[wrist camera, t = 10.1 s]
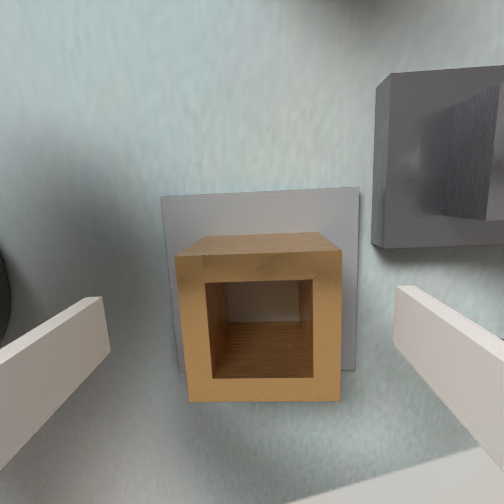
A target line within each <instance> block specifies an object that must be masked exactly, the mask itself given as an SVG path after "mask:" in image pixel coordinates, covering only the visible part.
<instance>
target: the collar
mask: <svg viewBox="0 0 504 504" xmlns="http://www.w3.org/2000/svg"><path fill="white" fill-rule="evenodd" d="M174 258H175V268H176V278H177V288H178V298H179V308H180V317H181V327H182V337H183V347H184V357H185V367H186V376H187V386H188V396H189V402H262V401H340V390H341V312H342V250H341V249H340V248H339V247H337V246H336V245H334V244H333V243H332V242H330V241H329V240H328V239H326V238H325V237H324V236H322V235H321V234H320V233H318V232H301V233H276V234H252V235H227V236H204V237H203V238H201V239H200V240H198V241H197V242H195V243H194V244H192V245H191V246H189V247H188V248H186V249H185V250H183V251H182V252H180V253H179V254H177V255H176V256H174ZM277 280H298V286H299V321H261V322H229V310H228V295H227V282H245V281H277Z"/></svg>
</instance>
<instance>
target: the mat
mask: <svg viewBox="0 0 504 504" xmlns="http://www.w3.org/2000/svg"><path fill="white" fill-rule="evenodd" d="M161 205H162V215H163V224H164V234H165V243H166V252H167V262H168V271H169V280H170V290H171V299H172V308H173V318H174V327H175V337H176V346H177V355H178V365H179V372H186V367H185V357H184V347H183V337H182V327H181V317H180V308H179V298H178V288H177V278H176V268H175V258H174V256H176V255H177V254H179V253H180V252H182V251H183V250H185V249H186V248H188V247H189V246H191V245H192V244H194V243H195V242H197V241H198V240H200V239H201V238H203V237H204V236H227V235H252V234H276V233H301V232H318V233H320V234H321V235H322V236H324V237H325V238H326V239H328V240H329V241H330V242H332V243H333V244H334V245H336V246H337V247H339V248H340V249H341V250H342V312H341V370H355V347H356V305H357V262H358V219H359V187H346V188H325V189H305V190H285V191H264V192H244V193H224V194H203V195H183V196H163V197H161ZM227 295H228V310H229V322H261V321H299V286H298V280H277V281H245V282H227Z"/></svg>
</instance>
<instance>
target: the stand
mask: <svg viewBox="0 0 504 504" xmlns="http://www.w3.org/2000/svg"><path fill="white" fill-rule="evenodd" d="M371 243H372V244H374V245H377V246H379V247H381V248H383V249H390V248H417V247H445V246H472V245H500V244H504V65H501V66H487V67H473V68H459V69H445V70H432V71H418V72H404V73H391V74H390V75H389V76H388V77H387V78H386V79H385V80H384V81H383V82H382V83H381V84H380V85H379V86H378V87H377V88H376V107H375V137H374V168H373V199H372V230H371Z"/></svg>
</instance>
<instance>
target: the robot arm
mask: <svg viewBox="0 0 504 504" xmlns="http://www.w3.org/2000/svg"><path fill="white" fill-rule="evenodd" d="M9 310H10V292H9V284H8V279H7V275H6V271H5V268H4V265H3V262H2V260H1V257H0V340H1V339H2V337H3V334H4V332H5V329H6V326H7V322H8V317H9ZM393 345H394V346H395V347H396V348H397V349H398V350H399V352H400V353H401V354H402V355H403V356H404V357H405V358H406V360H407V361H408V362H409V363H410V364H411V365H412V367H413V368H414V369H415V370H416V371H417V372H418V373H419V375H420V376H421V377H422V378H423V379H424V380H425V382H426V383H427V384H428V385H429V386H430V387H431V389H432V390H433V391H434V392H435V393H436V394H437V395H438V397H439V398H440V399H441V400H442V401H443V402H444V404H445V405H446V406H447V407H448V408H449V409H450V410H451V412H452V413H453V414H454V415H455V416H456V417H457V419H458V420H459V421H460V422H461V423H462V424H463V426H464V427H465V428H466V429H467V430H468V431H469V432H470V434H471V435H472V436H473V437H474V438H475V439H476V441H477V442H478V443H479V444H480V445H481V446H482V447H483V449H484V450H485V451H486V452H487V453H488V454H489V456H490V457H491V458H492V459H493V460H494V461H495V463H496V464H497V465H498V466H499V467H500V468H501V469H502V471H503V472H504V339H501V338H498V337H497V336H495V335H493V334H492V333H490V332H488V331H487V330H485V329H484V328H482V327H480V326H479V325H477V324H476V323H474V322H472V321H471V320H469V319H467V318H466V317H464V316H463V315H461V314H459V313H458V312H456V311H454V310H453V309H451V308H450V307H448V306H446V305H445V304H443V303H442V302H440V301H438V300H437V299H435V298H433V297H432V296H430V295H429V294H427V293H425V292H424V291H422V290H420V289H419V288H417V287H416V286H414V285H409V286H396V292H395V309H394V326H393ZM110 352H111V348H110V342H109V336H108V330H107V324H106V318H105V312H104V306H103V299H102V297H85V298H83V299H82V300H80V301H78V302H77V303H75V304H74V305H72V306H70V307H69V308H67V309H65V310H64V311H62V312H60V313H59V314H57V315H56V316H54V317H52V318H51V319H49V320H47V321H46V322H44V323H42V324H41V325H39V326H37V327H36V328H34V329H33V330H31V331H29V332H28V333H26V334H24V335H23V336H21V337H19V338H18V339H16V340H15V341H13V342H11V343H10V344H8V345H6V346H5V347H3V348H1V349H0V471H1V470H2V469H3V468H4V467H5V465H6V464H7V463H8V462H9V461H10V460H11V459H12V458H13V457H14V456H15V455H16V454H17V452H18V451H19V450H20V449H21V448H22V447H23V446H24V445H25V444H26V443H27V442H28V441H29V440H30V438H31V437H32V436H33V435H34V434H35V433H36V432H37V431H38V430H39V429H40V428H41V427H42V426H43V424H44V423H45V422H46V421H47V420H48V419H49V418H50V417H51V416H52V415H53V414H54V413H55V412H56V410H57V409H58V408H59V407H60V406H61V405H62V404H63V403H64V402H65V401H66V400H67V399H68V397H69V396H70V395H71V394H72V393H73V392H74V391H75V390H76V389H77V388H78V387H79V386H80V385H81V383H82V382H83V381H84V380H85V379H86V378H87V377H88V376H89V375H90V374H91V373H92V372H93V371H94V369H95V368H96V367H97V366H98V365H99V364H100V363H101V362H102V361H103V360H104V359H105V358H106V356H107V355H108V354H109V353H110Z"/></svg>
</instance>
